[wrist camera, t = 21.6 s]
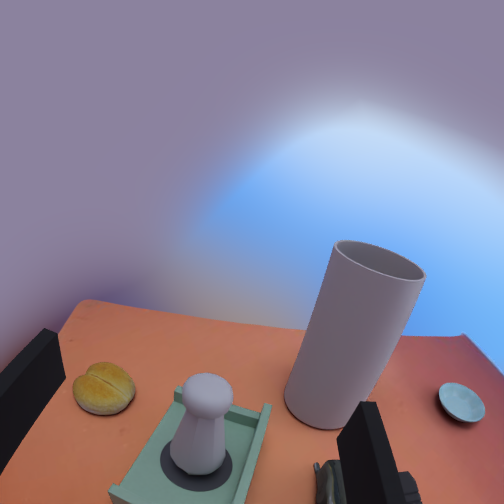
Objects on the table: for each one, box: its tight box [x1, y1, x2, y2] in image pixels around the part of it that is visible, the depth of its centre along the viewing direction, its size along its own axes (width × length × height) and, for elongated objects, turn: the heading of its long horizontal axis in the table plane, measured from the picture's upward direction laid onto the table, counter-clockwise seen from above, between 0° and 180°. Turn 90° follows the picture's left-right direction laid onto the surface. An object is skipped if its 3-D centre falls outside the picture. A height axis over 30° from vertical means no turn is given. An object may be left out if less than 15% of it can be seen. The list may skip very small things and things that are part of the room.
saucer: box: [439, 383, 485, 422], centre depth 44 cm, size 12×12×2 cm
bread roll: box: [73, 362, 135, 415], centre depth 36 cm, size 8×9×4 cm
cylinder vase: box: [284, 240, 426, 429], centre depth 40 cm, size 12×12×25 cm
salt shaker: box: [170, 373, 233, 475], centre depth 26 cm, size 6×6×13 cm
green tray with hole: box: [108, 386, 272, 504], centre depth 28 cm, size 12×18×7 cm, turn 167°
